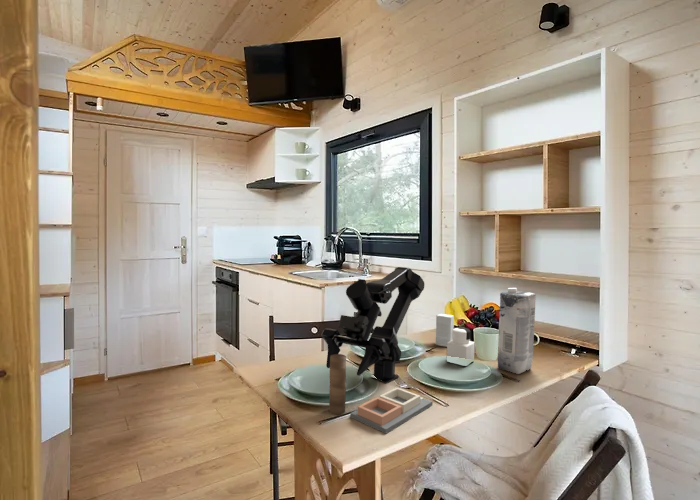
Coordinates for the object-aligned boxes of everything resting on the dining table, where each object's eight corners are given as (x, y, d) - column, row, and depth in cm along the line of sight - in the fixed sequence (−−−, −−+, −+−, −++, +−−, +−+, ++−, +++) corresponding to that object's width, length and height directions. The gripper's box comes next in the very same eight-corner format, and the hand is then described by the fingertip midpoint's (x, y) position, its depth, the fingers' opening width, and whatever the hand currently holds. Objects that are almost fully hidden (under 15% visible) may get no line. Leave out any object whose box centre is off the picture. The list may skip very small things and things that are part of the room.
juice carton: (535, 369, 132) (539, 289, 131) (518, 376, 126) (523, 292, 124) (510, 362, 139) (513, 285, 138) (493, 368, 133) (497, 288, 131)
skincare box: (453, 345, 158) (454, 315, 157) (450, 347, 155) (451, 317, 154) (438, 342, 161) (439, 313, 161) (435, 344, 158) (436, 315, 157)
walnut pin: (337, 405, 103) (337, 353, 102) (348, 411, 101) (349, 356, 100) (325, 411, 100) (326, 356, 99) (337, 416, 98) (338, 360, 97)
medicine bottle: (455, 357, 143) (456, 324, 142) (474, 362, 139) (475, 328, 138) (446, 362, 138) (447, 328, 137) (465, 367, 133) (467, 332, 132)
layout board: (398, 392, 112) (398, 382, 112) (432, 405, 105) (432, 394, 104) (350, 417, 97) (350, 405, 97) (386, 433, 90) (386, 420, 90)
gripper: (325, 299, 110) (299, 348, 101) (386, 307, 100) (363, 362, 92) (340, 321, 117) (317, 369, 108) (398, 331, 107) (378, 385, 99)
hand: (342, 371), depth 102 cm, fingers open, 9 cm apart
